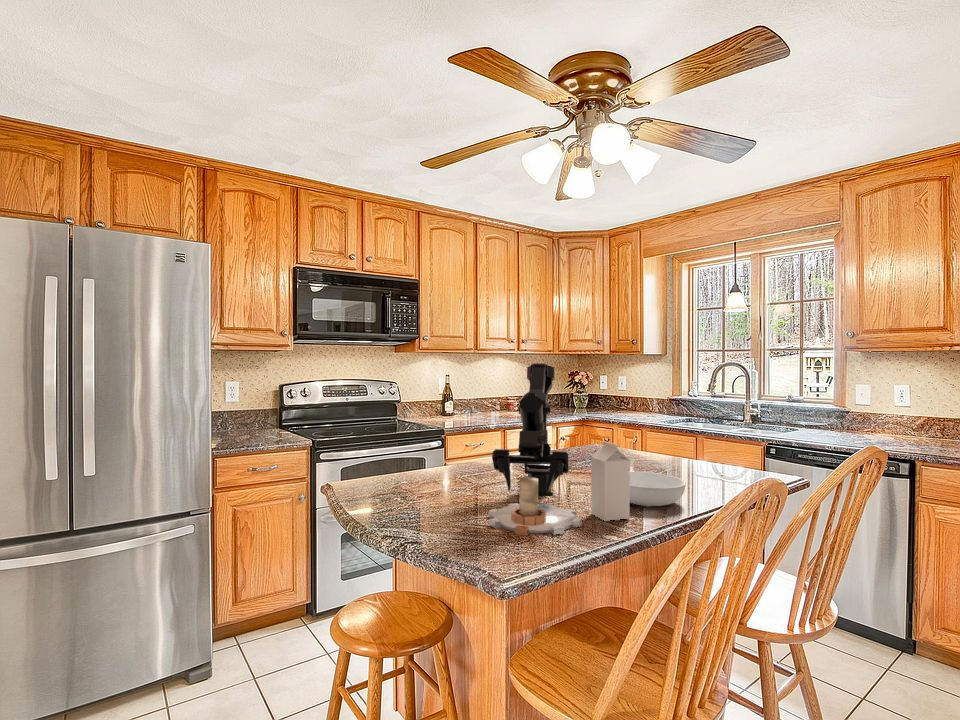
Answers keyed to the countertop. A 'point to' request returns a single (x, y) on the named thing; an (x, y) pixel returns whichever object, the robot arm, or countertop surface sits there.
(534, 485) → the drive pin
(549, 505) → the sprocket wheel
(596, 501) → the milk carton
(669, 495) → the serving bowl
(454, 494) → the countertop surface
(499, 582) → the countertop surface
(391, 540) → the countertop surface
